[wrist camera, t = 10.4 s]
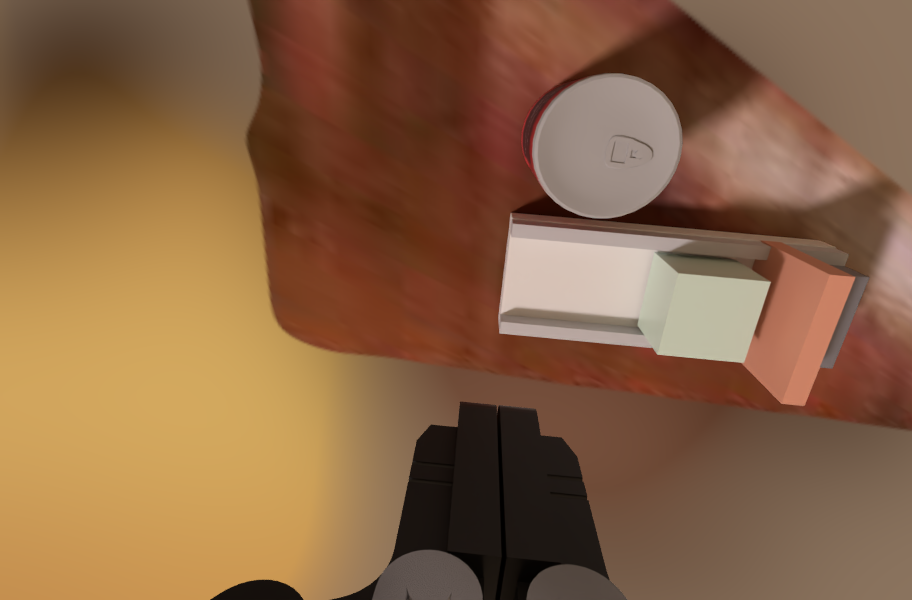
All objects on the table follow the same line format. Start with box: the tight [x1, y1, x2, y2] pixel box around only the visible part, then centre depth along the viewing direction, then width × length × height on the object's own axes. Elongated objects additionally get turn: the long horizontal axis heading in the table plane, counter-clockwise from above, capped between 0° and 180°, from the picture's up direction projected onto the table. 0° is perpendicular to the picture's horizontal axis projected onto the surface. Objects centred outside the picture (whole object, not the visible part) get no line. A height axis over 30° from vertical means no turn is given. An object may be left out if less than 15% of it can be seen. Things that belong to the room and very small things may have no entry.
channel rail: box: [498, 213, 869, 406], centre depth 36 cm, size 24×9×10 cm, turn 86°
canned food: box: [521, 73, 683, 218], centre depth 32 cm, size 8×8×11 cm
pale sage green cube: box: [637, 252, 771, 363], centre depth 36 cm, size 6×6×5 cm
